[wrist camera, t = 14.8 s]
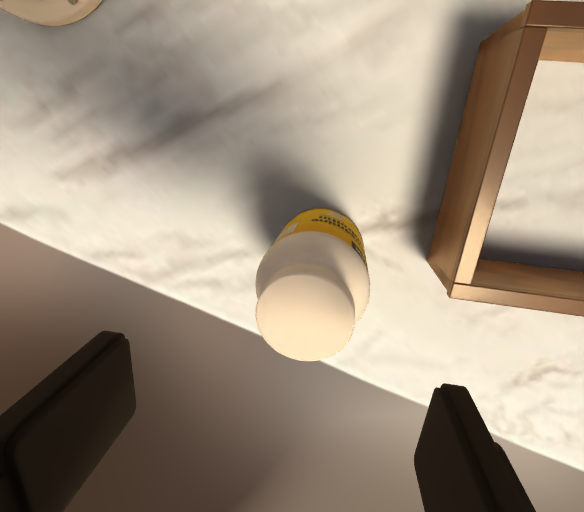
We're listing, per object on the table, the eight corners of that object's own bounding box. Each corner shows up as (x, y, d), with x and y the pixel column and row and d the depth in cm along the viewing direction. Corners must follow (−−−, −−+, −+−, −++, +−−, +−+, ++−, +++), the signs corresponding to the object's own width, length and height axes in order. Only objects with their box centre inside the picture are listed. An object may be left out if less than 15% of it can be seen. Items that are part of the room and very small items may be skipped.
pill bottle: (376, 265, 26) (399, 355, 15) (303, 294, 28) (276, 393, 17) (341, 190, 24) (340, 230, 13) (267, 226, 26) (212, 286, 15)
